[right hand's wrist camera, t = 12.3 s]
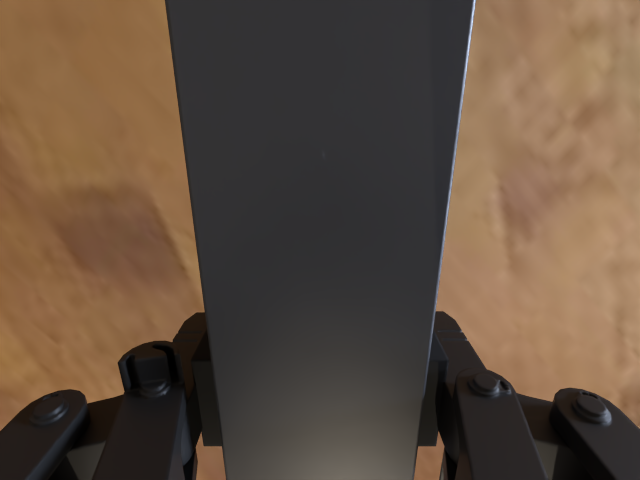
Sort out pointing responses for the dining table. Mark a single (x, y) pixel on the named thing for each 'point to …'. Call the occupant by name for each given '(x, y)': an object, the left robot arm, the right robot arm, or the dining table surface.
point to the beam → (320, 220)
